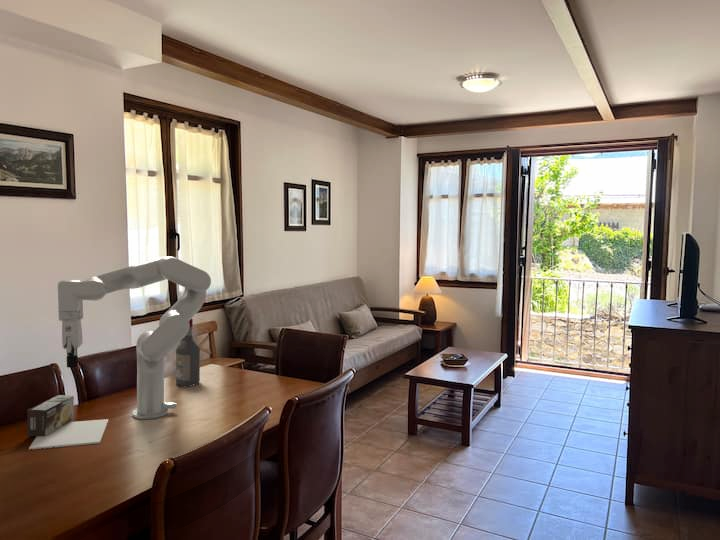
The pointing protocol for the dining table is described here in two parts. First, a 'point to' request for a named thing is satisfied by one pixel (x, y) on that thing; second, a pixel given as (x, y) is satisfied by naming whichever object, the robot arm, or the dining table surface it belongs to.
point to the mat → (72, 435)
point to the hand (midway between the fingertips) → (72, 366)
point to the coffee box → (50, 415)
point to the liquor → (188, 360)
